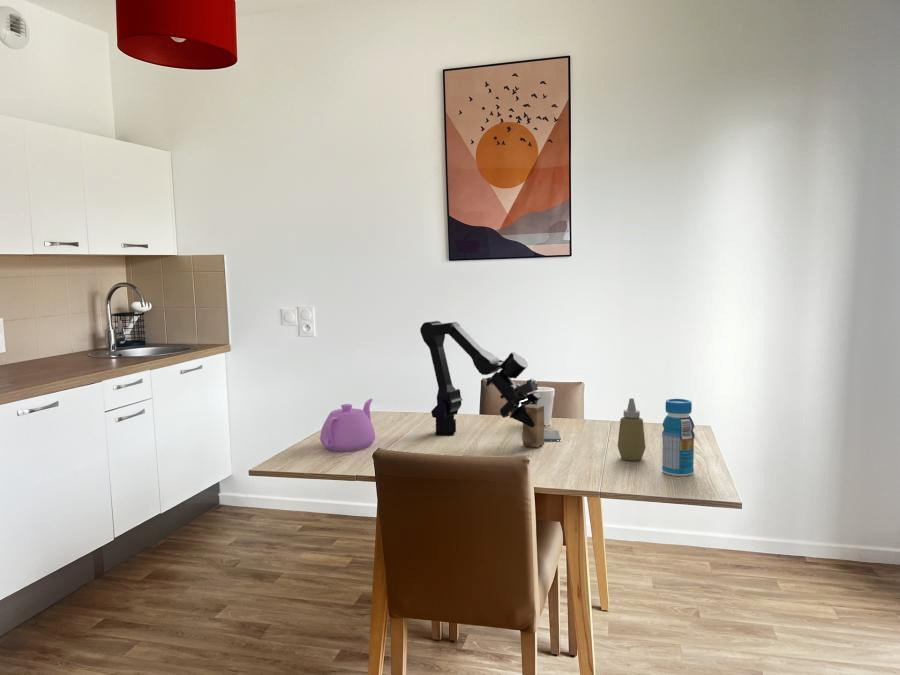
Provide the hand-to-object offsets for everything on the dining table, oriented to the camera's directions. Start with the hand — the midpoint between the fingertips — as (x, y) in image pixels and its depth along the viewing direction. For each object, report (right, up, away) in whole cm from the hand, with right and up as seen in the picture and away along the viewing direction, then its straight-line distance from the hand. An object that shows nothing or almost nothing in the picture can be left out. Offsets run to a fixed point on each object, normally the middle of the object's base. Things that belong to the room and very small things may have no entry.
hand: (537, 424), depth 219 cm
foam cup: (+6, -4, +32) cm, 33 cm away
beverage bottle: (+35, -9, -30) cm, 47 cm away
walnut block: (-1, -7, +1) cm, 7 cm away
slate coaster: (+3, -6, +13) cm, 15 cm away
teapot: (-61, -8, +7) cm, 62 cm away
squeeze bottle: (+26, -8, -16) cm, 31 cm away
